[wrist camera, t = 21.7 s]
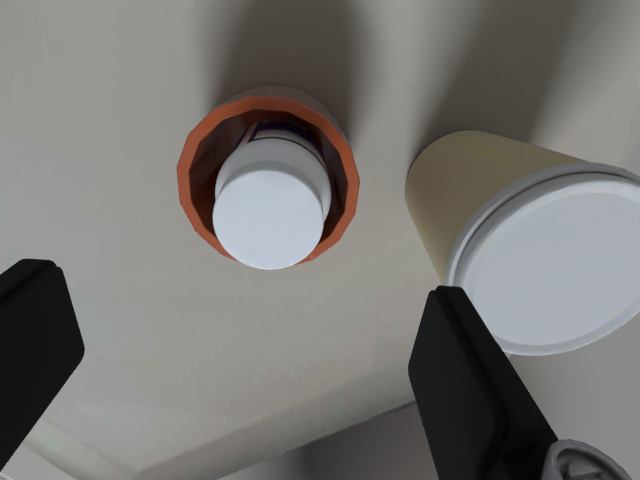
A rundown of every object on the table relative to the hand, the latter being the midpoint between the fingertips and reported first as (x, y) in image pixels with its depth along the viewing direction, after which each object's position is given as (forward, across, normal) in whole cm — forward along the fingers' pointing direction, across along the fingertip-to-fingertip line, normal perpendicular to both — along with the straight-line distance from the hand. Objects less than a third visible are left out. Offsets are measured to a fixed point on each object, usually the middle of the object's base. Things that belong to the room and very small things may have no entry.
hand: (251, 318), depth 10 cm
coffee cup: (+17, -12, +1) cm, 21 cm away
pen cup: (+17, +1, 0) cm, 17 cm away
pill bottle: (+16, 0, 0) cm, 16 cm away
